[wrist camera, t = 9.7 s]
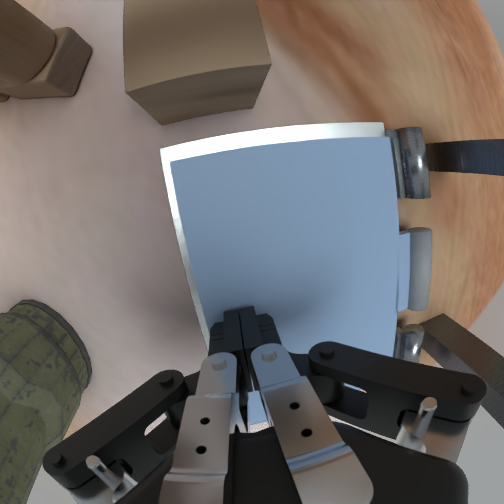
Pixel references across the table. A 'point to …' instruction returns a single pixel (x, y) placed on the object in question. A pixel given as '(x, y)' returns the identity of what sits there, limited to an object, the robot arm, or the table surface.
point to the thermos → (35, 391)
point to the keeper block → (193, 56)
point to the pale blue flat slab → (303, 241)
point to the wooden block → (37, 56)
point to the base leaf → (407, 186)
